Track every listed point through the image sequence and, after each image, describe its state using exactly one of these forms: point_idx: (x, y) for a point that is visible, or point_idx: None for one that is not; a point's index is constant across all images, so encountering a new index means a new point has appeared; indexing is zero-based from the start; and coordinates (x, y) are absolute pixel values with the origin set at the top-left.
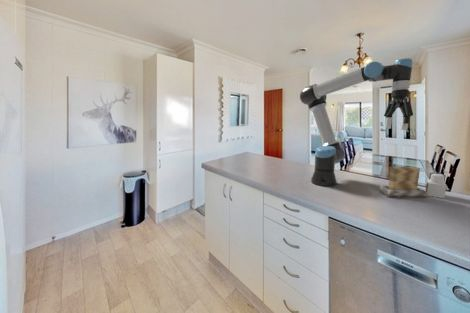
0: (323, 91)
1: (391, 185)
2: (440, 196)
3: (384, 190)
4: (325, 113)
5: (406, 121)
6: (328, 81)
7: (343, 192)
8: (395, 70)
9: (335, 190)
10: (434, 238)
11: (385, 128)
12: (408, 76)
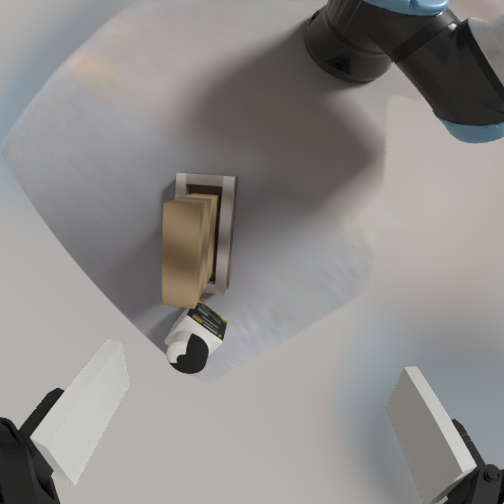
0: None
1: (197, 195)
2: (177, 319)
3: (206, 174)
4: None
5: (43, 406)
6: None
7: (236, 54)
8: None
9: (258, 40)
10: (19, 136)
11: (416, 368)
12: None
